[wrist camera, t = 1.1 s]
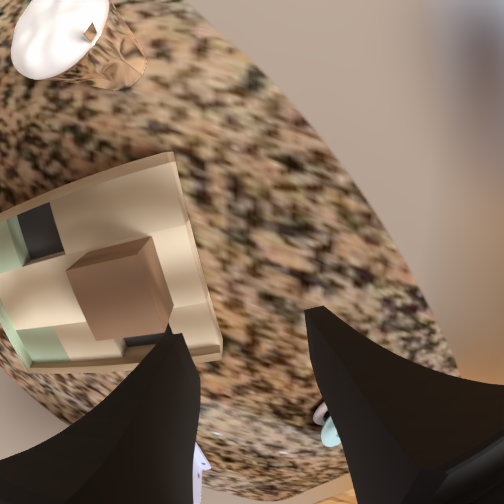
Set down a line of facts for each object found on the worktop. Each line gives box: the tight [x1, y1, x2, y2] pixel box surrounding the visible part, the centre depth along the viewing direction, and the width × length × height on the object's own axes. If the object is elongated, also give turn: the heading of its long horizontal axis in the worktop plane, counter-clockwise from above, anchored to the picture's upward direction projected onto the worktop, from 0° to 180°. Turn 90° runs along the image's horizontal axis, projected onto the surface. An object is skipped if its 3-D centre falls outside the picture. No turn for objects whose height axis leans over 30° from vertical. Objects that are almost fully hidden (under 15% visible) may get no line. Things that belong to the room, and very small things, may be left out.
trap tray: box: [0, 152, 223, 374], centre depth 18 cm, size 13×18×2 cm
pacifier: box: [313, 402, 341, 447], centre depth 22 cm, size 7×6×6 cm
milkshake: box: [11, 0, 147, 91], centre depth 10 cm, size 4×5×10 cm
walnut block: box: [65, 236, 174, 341], centre depth 16 cm, size 4×4×3 cm
